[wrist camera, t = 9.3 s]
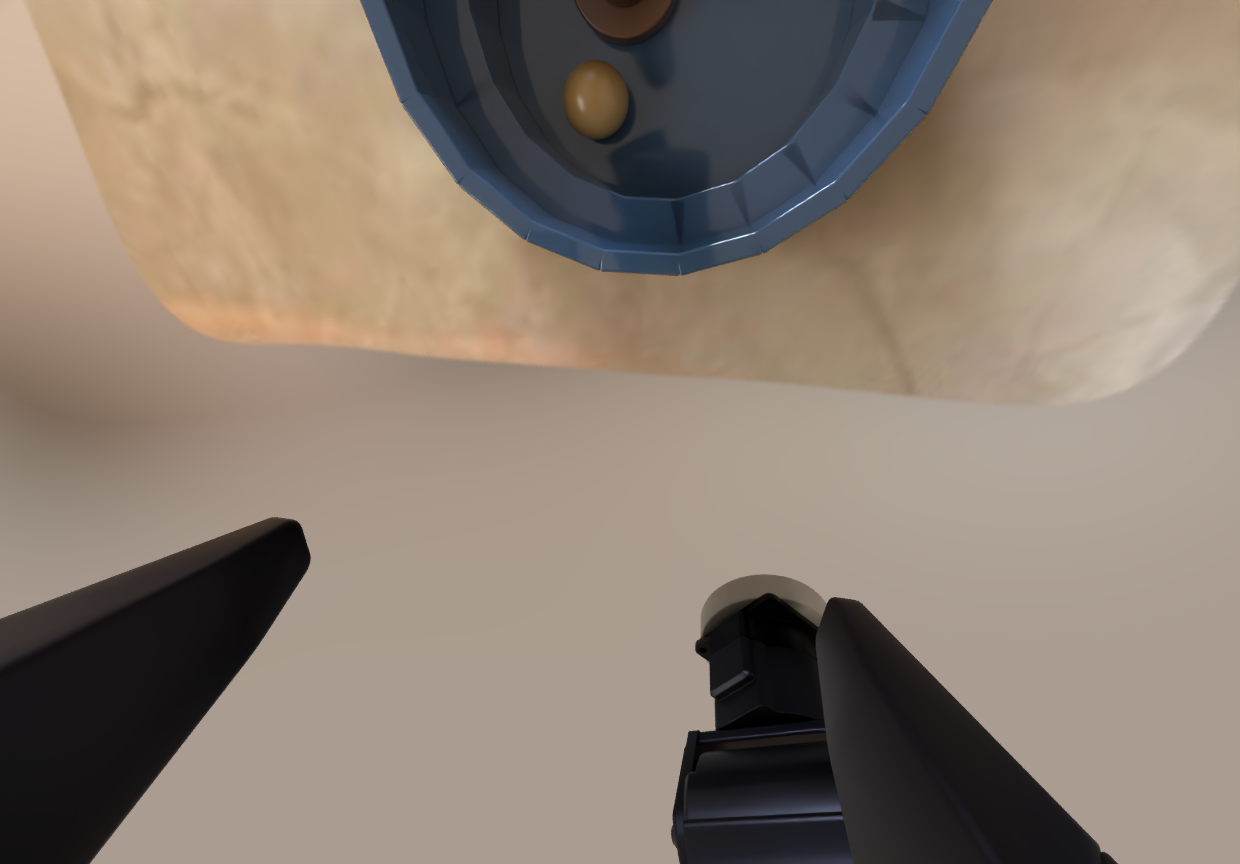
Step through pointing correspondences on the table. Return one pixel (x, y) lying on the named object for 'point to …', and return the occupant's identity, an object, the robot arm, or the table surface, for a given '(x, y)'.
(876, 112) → the bowl
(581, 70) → the chickpea
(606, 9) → the pestle
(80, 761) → the robot arm
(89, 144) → the table surface
